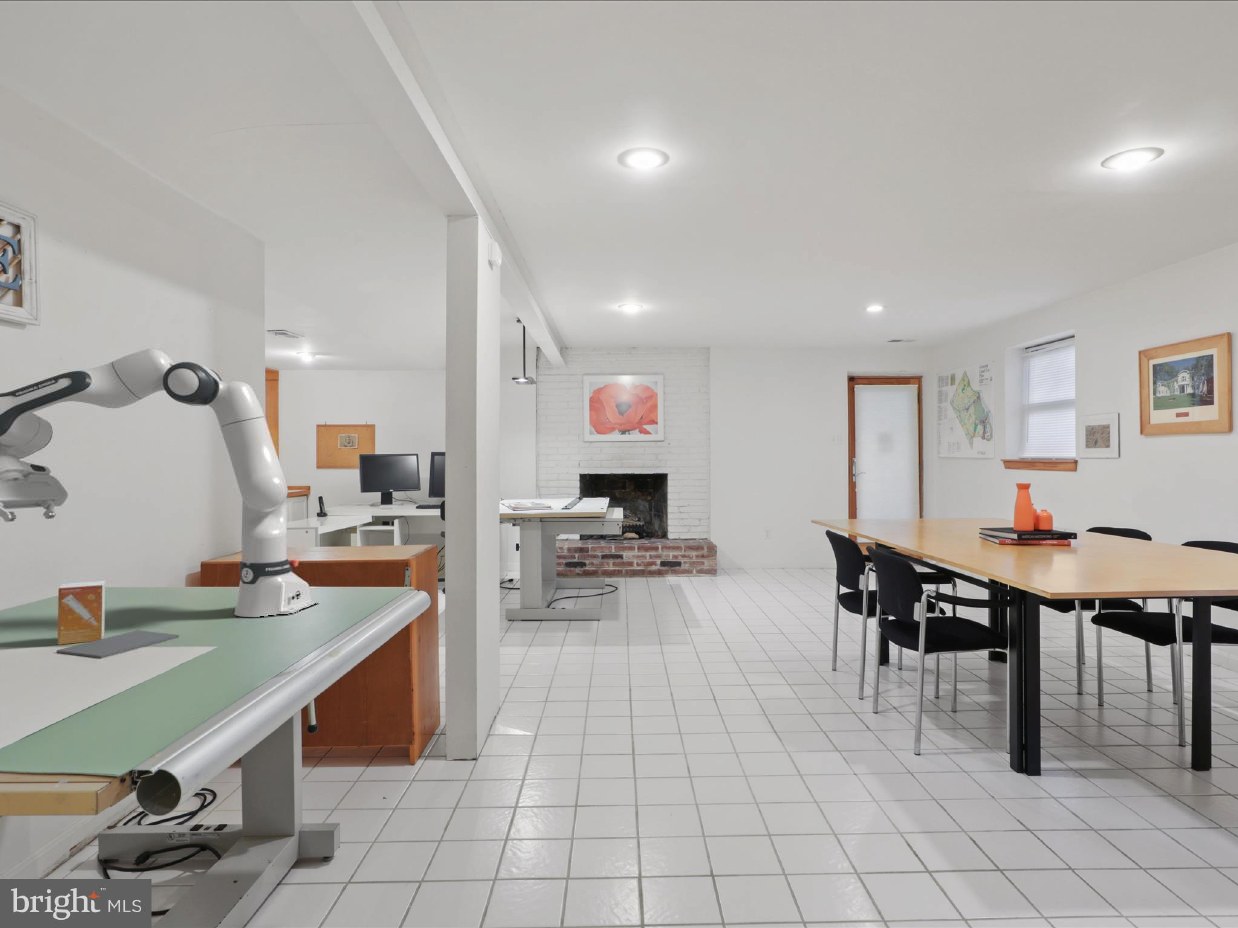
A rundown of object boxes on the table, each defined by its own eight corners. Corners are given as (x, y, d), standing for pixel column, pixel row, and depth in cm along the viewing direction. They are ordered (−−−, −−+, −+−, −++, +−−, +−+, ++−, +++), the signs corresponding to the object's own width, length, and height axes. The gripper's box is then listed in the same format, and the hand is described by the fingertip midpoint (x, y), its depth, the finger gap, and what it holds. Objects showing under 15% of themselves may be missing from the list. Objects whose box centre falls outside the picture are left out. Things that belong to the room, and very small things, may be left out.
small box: (57, 645, 151) (57, 587, 151) (61, 639, 157) (61, 583, 156) (102, 640, 156) (102, 584, 156) (105, 634, 161) (105, 580, 161)
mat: (137, 632, 163) (137, 630, 163) (178, 636, 159) (178, 634, 159) (56, 652, 146) (56, 650, 146) (100, 658, 142) (101, 655, 142)
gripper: (-43, 467, 153) (-14, 512, 150) (55, 467, 172) (83, 506, 170) (-57, 486, 154) (-28, 531, 151) (42, 484, 174) (70, 523, 171)
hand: (32, 518), depth 161 cm, fingers open, 7 cm apart
